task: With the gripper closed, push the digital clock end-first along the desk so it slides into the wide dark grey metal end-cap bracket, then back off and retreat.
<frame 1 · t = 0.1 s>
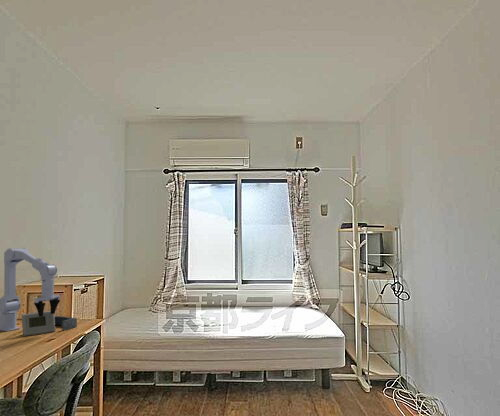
hand: (46, 314, 220), 10 cm above the table, fingers open, 7 cm apart
digital clock: (38, 333, 222), on the table
walnut slat: (39, 327, 238), on the table
end cap: (59, 327, 235), on the table
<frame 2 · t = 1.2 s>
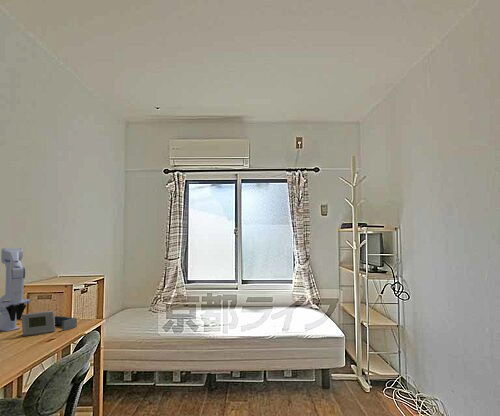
hand: (15, 320, 210), 9 cm above the table, fingers open, 3 cm apart
nothing on the table moved.
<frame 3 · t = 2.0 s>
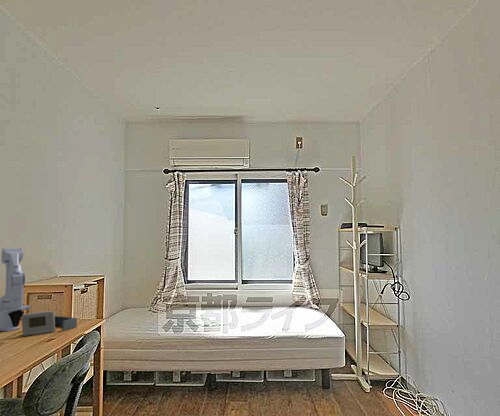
hand: (15, 326, 210), 6 cm above the table, fingers closed
nothing on the table moved.
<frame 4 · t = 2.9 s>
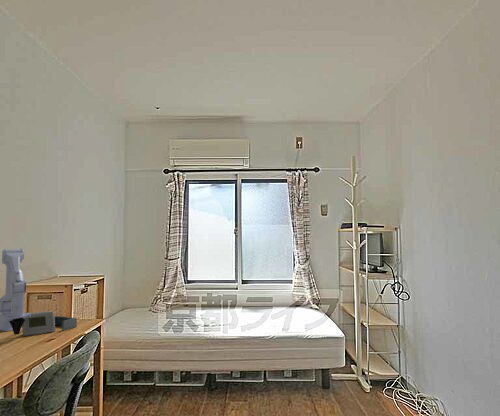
hand: (16, 334, 210), 2 cm above the table, fingers closed
nothing on the table moved.
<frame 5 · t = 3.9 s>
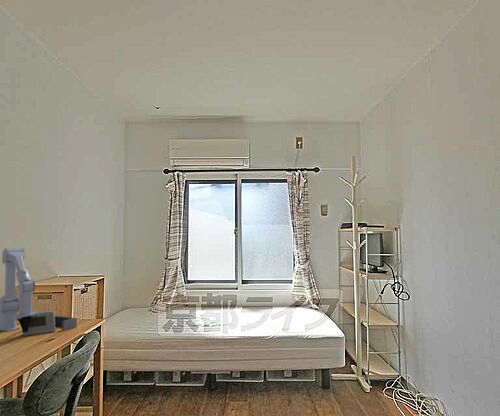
hand: (24, 332, 215), 2 cm above the table, fingers closed
digital clock: (38, 333, 222), on the table, touching gripper
everything else where it was.
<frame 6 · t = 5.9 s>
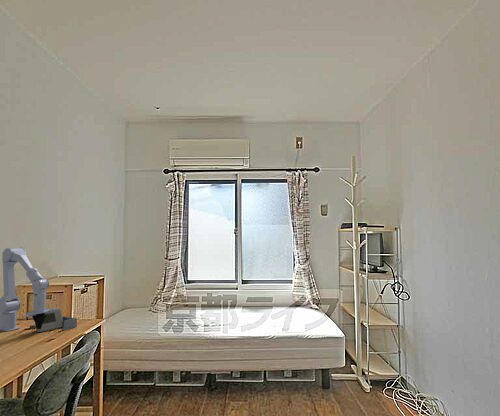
hand: (38, 328, 222), 2 cm above the table, fingers closed
digital clock: (48, 330, 231), on the table, touching end cap, gripper
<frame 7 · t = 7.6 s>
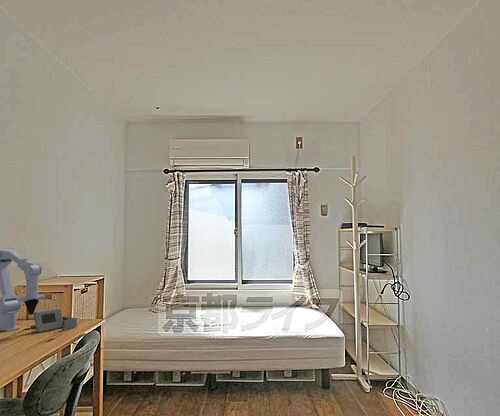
hand: (31, 314, 223), 10 cm above the table, fingers closed
digital clock: (48, 330, 231), on the table
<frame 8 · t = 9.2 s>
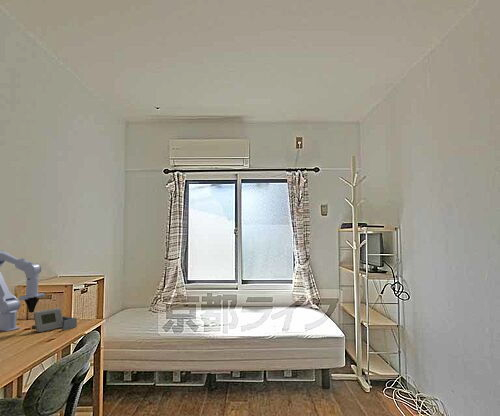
hand: (31, 312, 228), 10 cm above the table, fingers closed
at the end: digital clock inside the target area (1.9 cm from its centre), on the table; digital clock tilted 0° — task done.
